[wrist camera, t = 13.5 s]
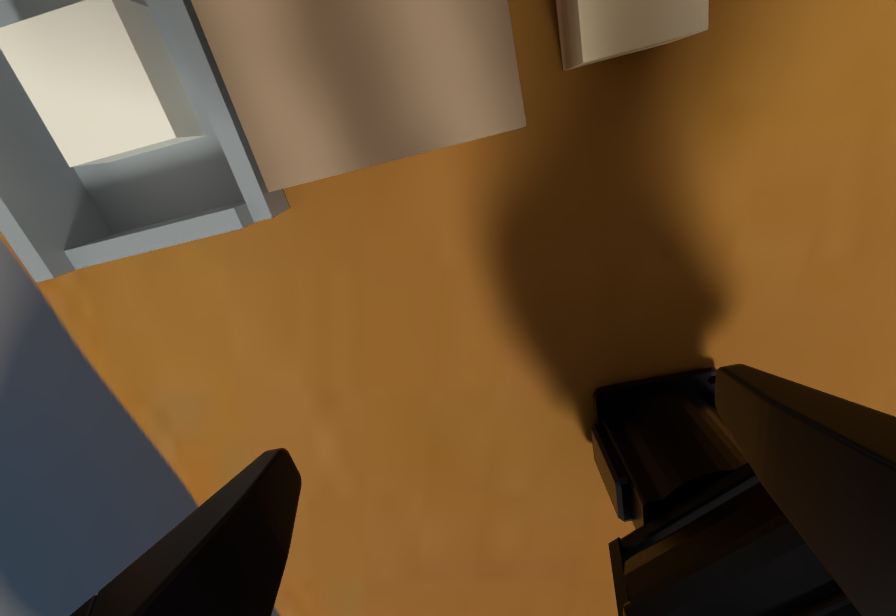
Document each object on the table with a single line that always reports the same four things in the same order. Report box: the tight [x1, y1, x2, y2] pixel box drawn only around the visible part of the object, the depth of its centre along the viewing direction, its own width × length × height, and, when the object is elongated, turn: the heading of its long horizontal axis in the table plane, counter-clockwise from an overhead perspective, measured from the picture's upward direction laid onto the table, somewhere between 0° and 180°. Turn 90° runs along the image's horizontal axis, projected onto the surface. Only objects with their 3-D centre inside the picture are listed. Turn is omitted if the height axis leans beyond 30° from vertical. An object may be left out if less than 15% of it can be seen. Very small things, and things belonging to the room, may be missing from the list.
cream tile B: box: [0, 0, 206, 167], centre depth 16 cm, size 4×4×2 cm
